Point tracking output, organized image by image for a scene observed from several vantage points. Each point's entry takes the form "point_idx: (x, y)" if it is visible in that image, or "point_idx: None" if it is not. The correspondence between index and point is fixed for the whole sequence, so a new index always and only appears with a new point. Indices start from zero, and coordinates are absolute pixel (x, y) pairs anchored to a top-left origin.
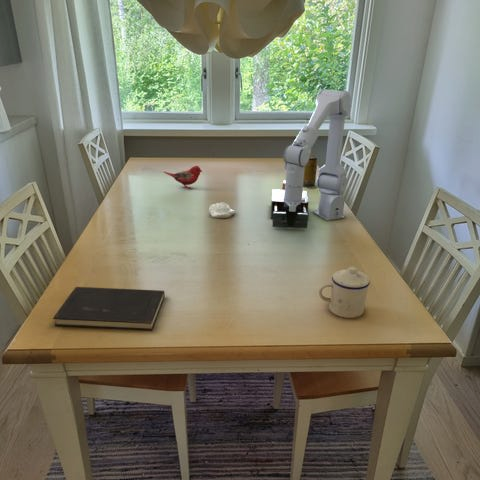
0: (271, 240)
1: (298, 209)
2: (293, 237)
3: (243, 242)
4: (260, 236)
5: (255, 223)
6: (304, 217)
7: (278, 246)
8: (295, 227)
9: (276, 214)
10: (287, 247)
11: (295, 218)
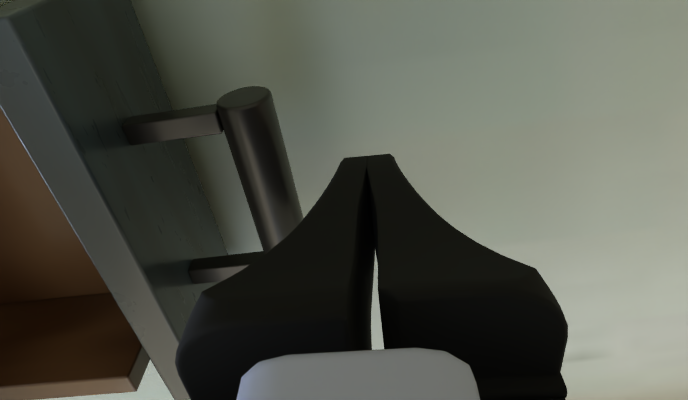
0: (490, 249)
1: (549, 307)
2: (383, 87)
3: None
4: None
5: None
6: (70, 58)
7: (624, 187)
8: (169, 105)
9: None
10: (653, 112)
11: (426, 206)
